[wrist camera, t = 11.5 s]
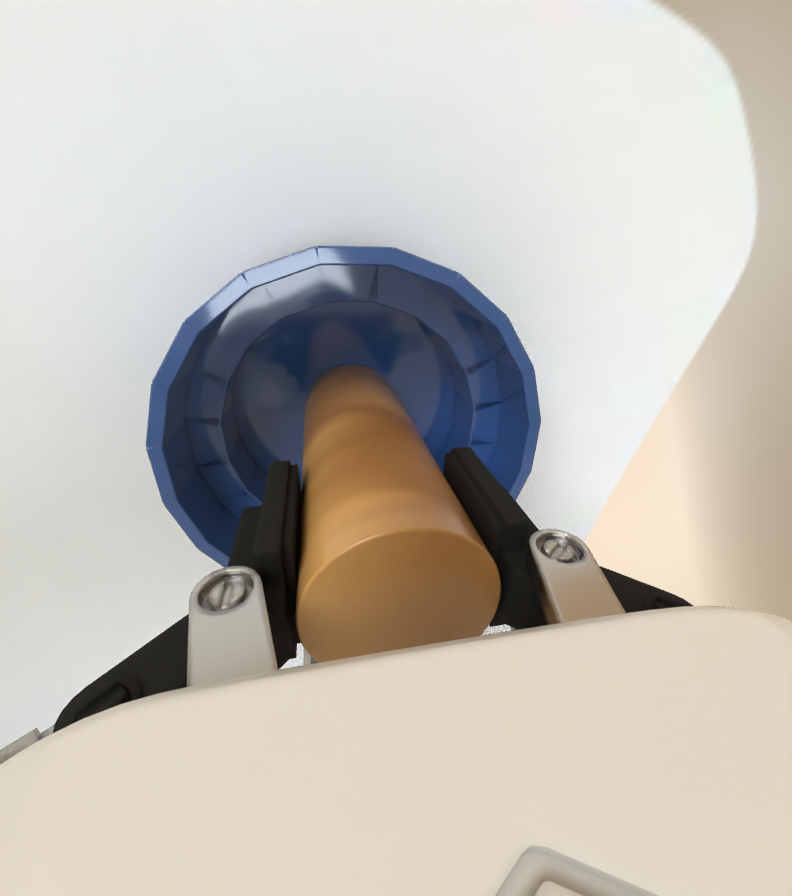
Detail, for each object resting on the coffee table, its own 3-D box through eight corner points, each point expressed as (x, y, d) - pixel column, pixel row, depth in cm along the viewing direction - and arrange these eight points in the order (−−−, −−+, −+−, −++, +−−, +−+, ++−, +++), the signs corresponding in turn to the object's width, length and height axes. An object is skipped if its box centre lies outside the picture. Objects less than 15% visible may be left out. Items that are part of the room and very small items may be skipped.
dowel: (309, 454, 19) (305, 696, 9) (300, 366, 17) (282, 543, 7) (396, 447, 20) (489, 663, 10) (397, 362, 18) (516, 516, 8)
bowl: (224, 536, 21) (198, 621, 16) (156, 244, 15) (81, 241, 10) (470, 510, 24) (511, 577, 19) (501, 249, 17) (575, 250, 12)
